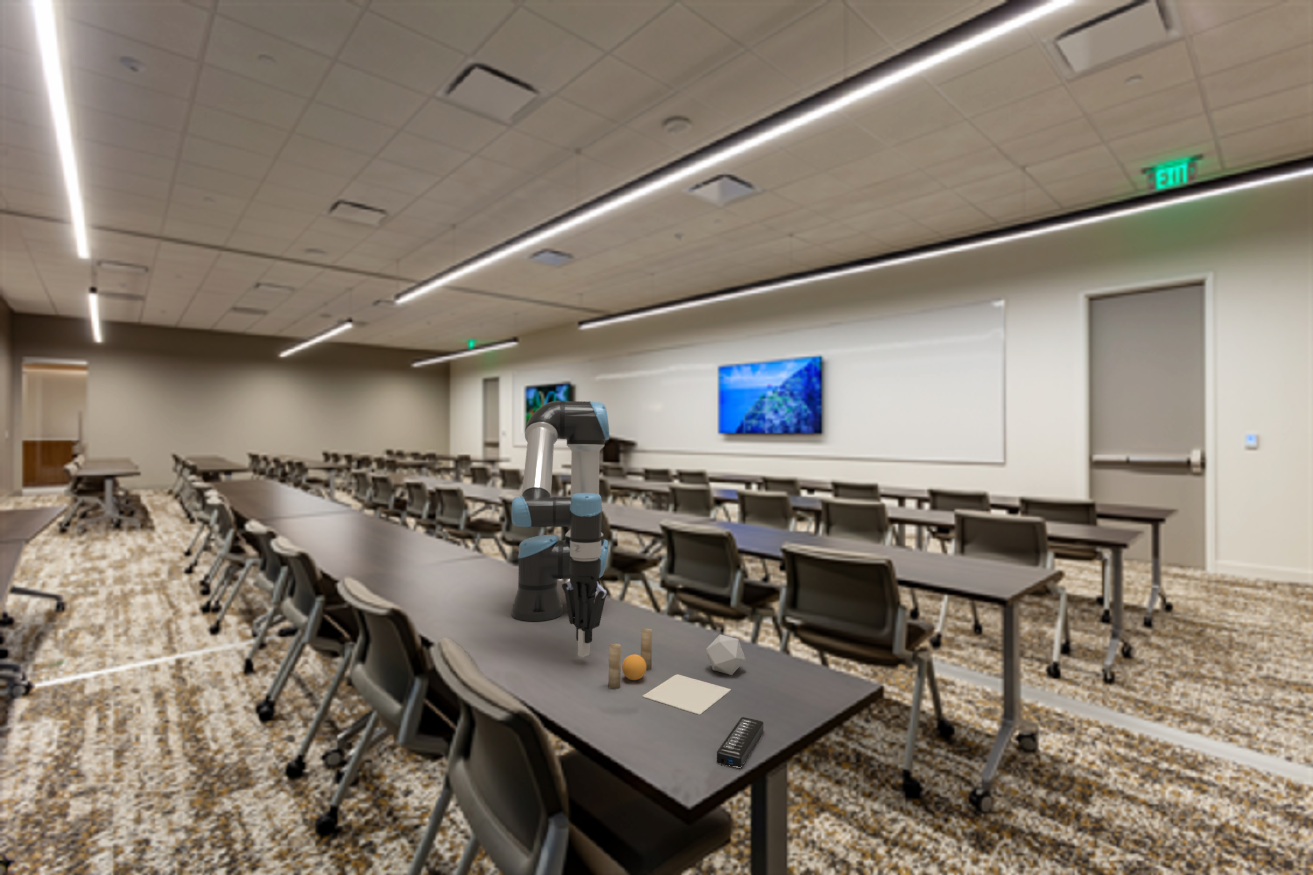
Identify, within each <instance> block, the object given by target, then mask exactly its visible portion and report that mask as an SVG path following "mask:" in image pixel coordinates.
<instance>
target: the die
mask: <svg viewBox="0 0 1313 875" xmlns="http://www.w3.org/2000/svg"><path fill="white" fill-rule="evenodd" d="M705 652H706V655H707V656H708V660H709V664H710V665H711V668H712V669H711V670H712V671H715V672H719V673H722V674H726V675H729V676H733V674H735V672H736V671H737V670H738V669H739V668H741V667H740V666H742V665H743V663H745V661H746V660H747V659H746V656H745V654H744V651H743V648H742V645H741V643H740V640H739V638H735V637H731V636H728V635H723V634H719V635H718V636H717V637H716V638H715V639H714V640H713V641H712V642H711V643H710V644H709V645H708V646H707V648H705Z"/></svg>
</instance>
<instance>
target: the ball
mask: <svg viewBox="0 0 1313 875" xmlns="http://www.w3.org/2000/svg"><path fill="white" fill-rule="evenodd" d="M621 669H622V673H623V676H624V677H625V678H627V679H628V680H630V681H638V680H640V679H642V678H643V677H644V676H645V674H646V671H647V670H646V662H645V660H644V659H643V658H642V657H641V655H639V654H635V653H634V654H630V655H628V656H626V657H625V658H624V660H623V662H622V665H621Z"/></svg>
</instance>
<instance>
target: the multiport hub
mask: <svg viewBox="0 0 1313 875" xmlns="http://www.w3.org/2000/svg"><path fill="white" fill-rule="evenodd" d="M763 734H764V721H762V720H759V719H755V718H754V719H753V718H750V717H749V718H748V717H745V716H742V717H740V718H739V720H738V721H737V722H736V724H735V726H734V727H733V728H732V729H731V731H730V732H729V733H728V735H727V737H725V739H724V741H723V742H722V744H721V745H720V747H719V748H718V749H717V751H716V763H717V764H719V763H721V764H720V765H723V764H725V765H724V766H726V765H730V766H738V767H741V766H742V765H743V763H744V762H745V763H746V761H747V760H748V759H749V757H750V755H751V753H752V751H753V750H754V748H755V747H756V745H757V743H758V741H759V740H760V738H761V736H762V735H763ZM749 754H750V755H749ZM748 756H749V757H748ZM746 759H747V760H746ZM745 760H746V761H745ZM745 763H744V764H745ZM730 766H729V767H730ZM743 766H744V765H743ZM743 766H742V767H743Z"/></svg>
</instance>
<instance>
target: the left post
mask: <svg viewBox="0 0 1313 875" xmlns="http://www.w3.org/2000/svg"><path fill="white" fill-rule="evenodd" d="M621 653H622V645H621V644H620V643H610V644H609V645H608V688H609V689H612V690H614V689H615V690H616V689H619V688H621V669H622V665H621V660H622V659H621V656H622V654H621Z"/></svg>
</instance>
